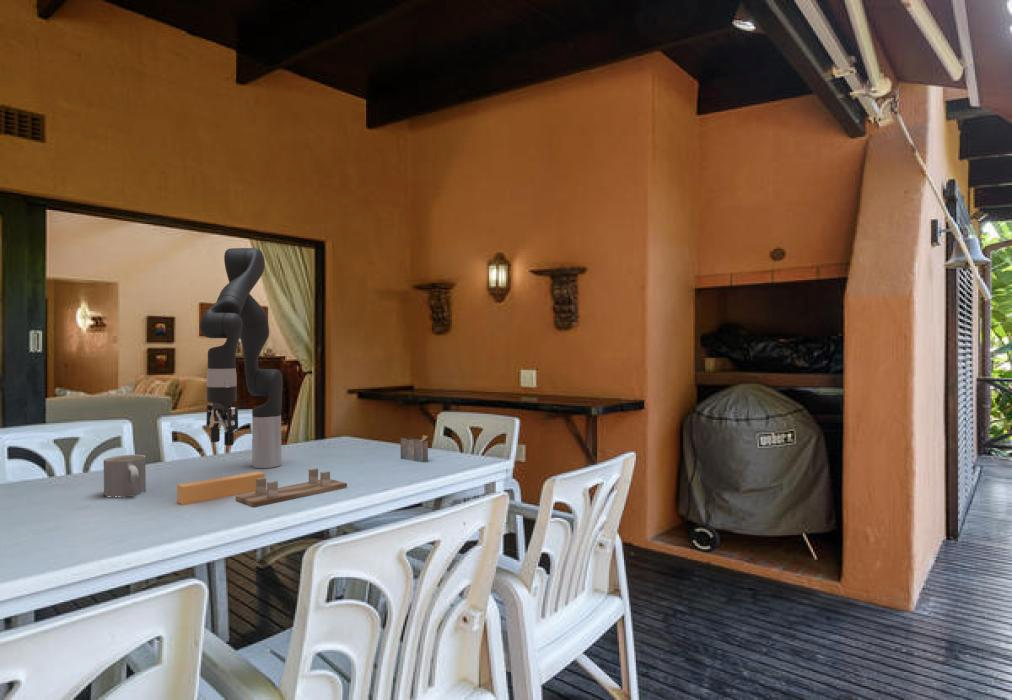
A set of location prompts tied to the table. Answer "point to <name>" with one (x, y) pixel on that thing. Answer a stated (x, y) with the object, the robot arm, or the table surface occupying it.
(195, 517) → the table surface
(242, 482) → the orange wooden bar
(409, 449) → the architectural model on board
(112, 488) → the coffee mug
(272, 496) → the brown wooden bar holder
